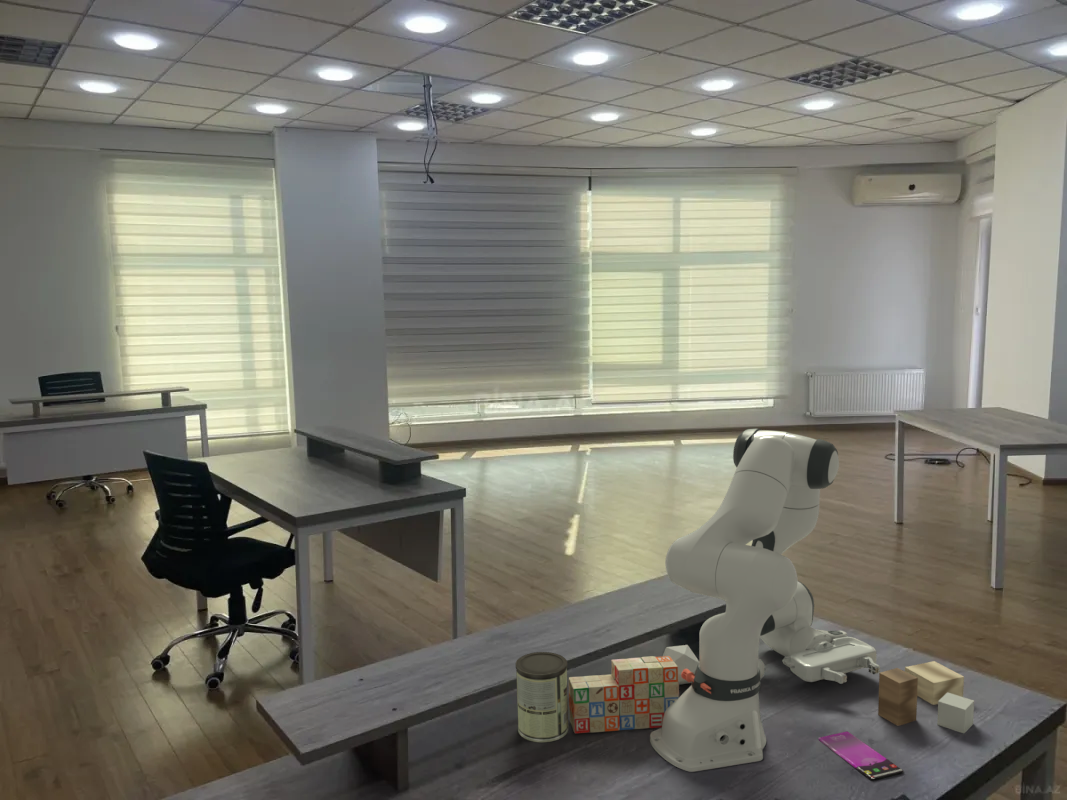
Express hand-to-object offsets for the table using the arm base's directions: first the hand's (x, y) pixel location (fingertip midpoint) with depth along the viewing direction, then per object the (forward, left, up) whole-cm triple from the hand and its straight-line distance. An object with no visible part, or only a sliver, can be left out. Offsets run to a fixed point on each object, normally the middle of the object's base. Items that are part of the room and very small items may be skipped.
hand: (861, 675), depth 174 cm
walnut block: (0, -10, -5) cm, 11 cm away
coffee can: (-66, +18, -5) cm, 69 cm away
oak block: (+15, -6, -5) cm, 17 cm away
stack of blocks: (-51, +13, -5) cm, 52 cm away
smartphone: (-17, -16, -6) cm, 24 cm away
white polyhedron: (-30, +24, -5) cm, 38 cm away
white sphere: (-15, +18, -5) cm, 24 cm away
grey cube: (+8, -16, -5) cm, 19 cm away
